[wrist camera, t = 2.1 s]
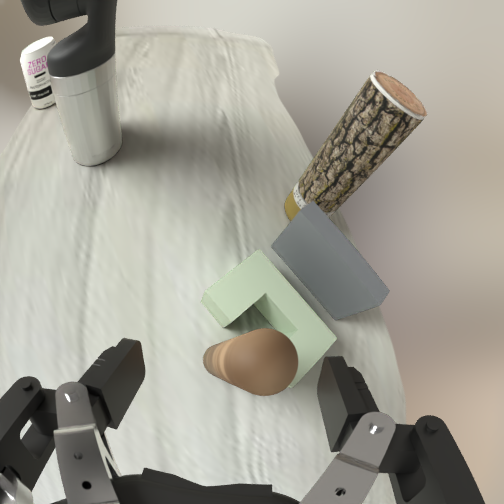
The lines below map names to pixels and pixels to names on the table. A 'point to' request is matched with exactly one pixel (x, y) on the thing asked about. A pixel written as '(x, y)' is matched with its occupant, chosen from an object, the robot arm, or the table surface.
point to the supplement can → (38, 72)
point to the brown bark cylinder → (358, 144)
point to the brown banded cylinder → (254, 361)
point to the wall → (329, 264)
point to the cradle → (270, 308)
